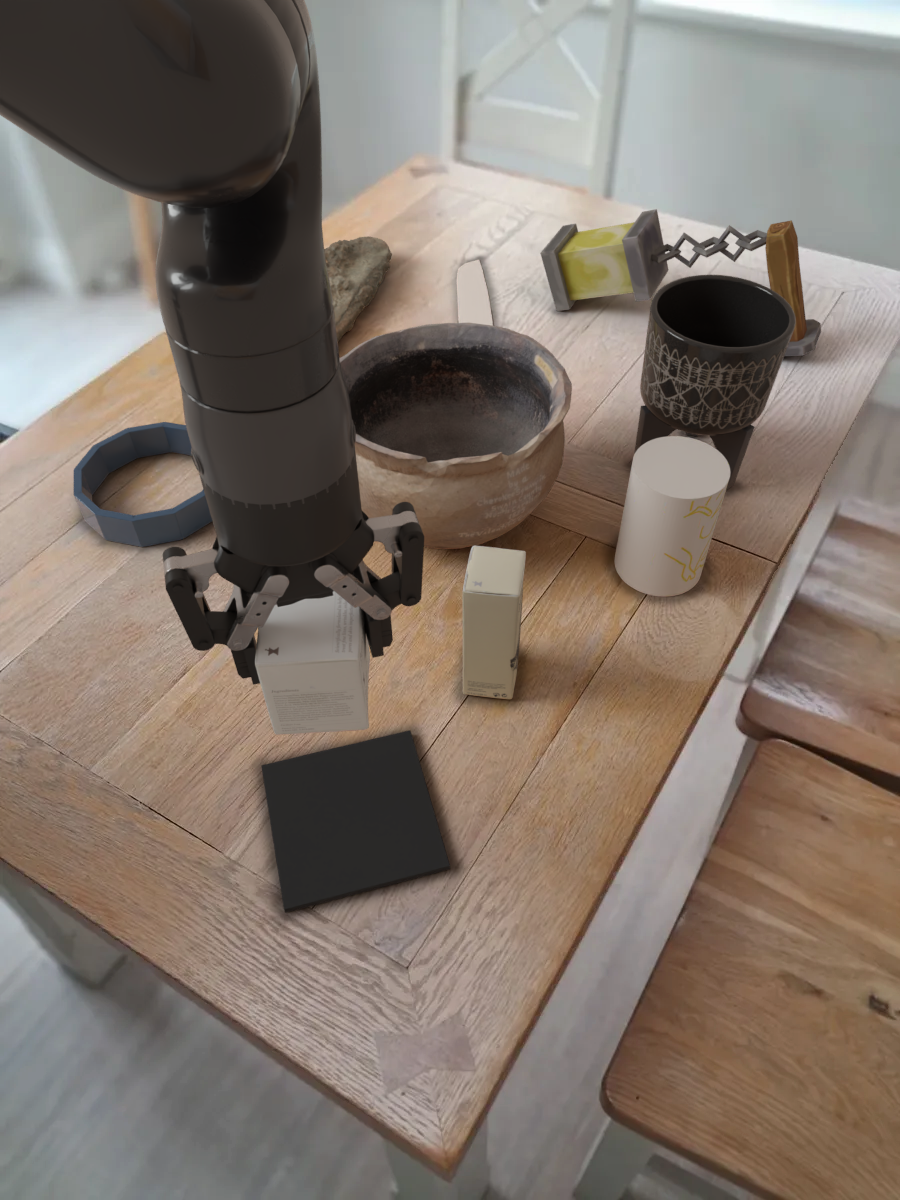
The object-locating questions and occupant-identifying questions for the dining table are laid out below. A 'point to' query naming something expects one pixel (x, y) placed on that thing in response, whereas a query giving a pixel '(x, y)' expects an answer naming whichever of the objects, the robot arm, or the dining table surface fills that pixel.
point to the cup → (670, 514)
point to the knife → (473, 295)
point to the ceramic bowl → (457, 427)
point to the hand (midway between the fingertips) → (316, 659)
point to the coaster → (351, 820)
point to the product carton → (314, 666)
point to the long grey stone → (355, 276)
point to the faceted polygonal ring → (118, 454)
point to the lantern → (666, 265)
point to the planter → (712, 360)
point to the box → (492, 621)
